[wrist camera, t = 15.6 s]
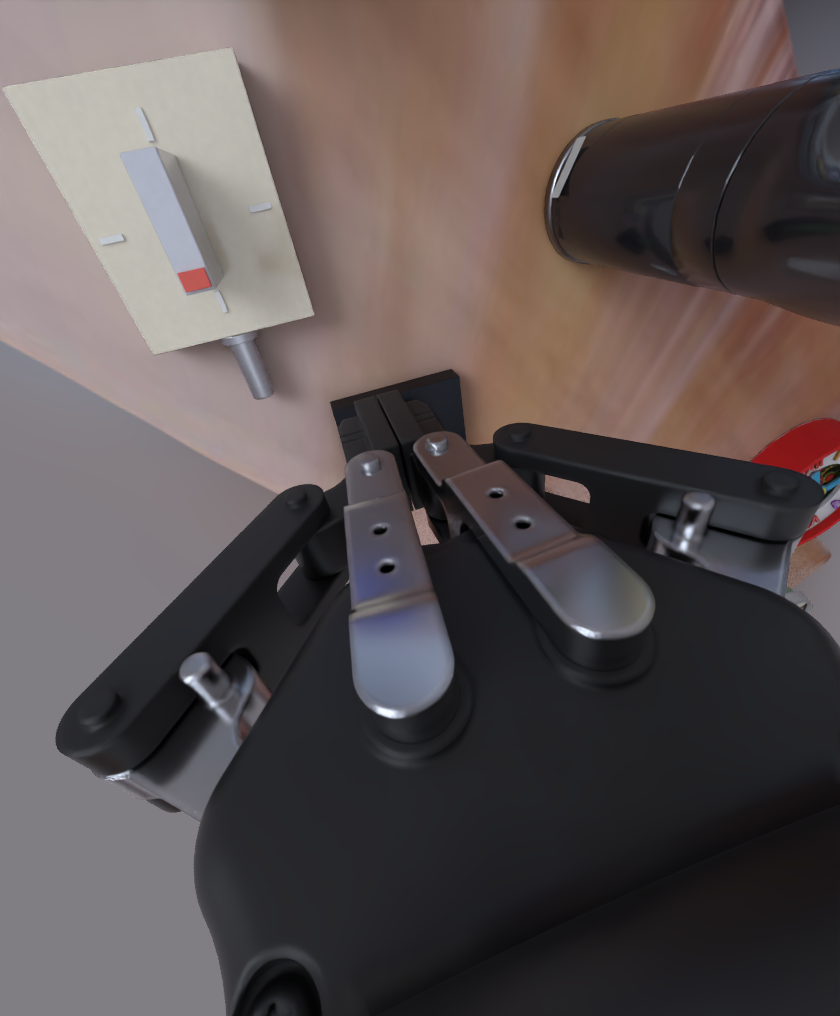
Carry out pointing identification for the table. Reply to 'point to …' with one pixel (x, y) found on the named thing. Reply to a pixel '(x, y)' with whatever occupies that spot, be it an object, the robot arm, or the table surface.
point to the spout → (250, 363)
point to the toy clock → (811, 465)
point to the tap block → (209, 176)
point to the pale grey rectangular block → (174, 217)
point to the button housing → (431, 389)
